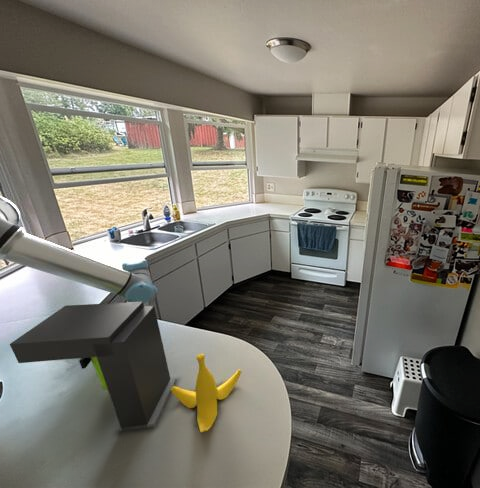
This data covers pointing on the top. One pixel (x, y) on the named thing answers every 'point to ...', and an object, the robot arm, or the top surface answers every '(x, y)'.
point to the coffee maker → (109, 354)
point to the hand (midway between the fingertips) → (97, 361)
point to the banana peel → (205, 394)
